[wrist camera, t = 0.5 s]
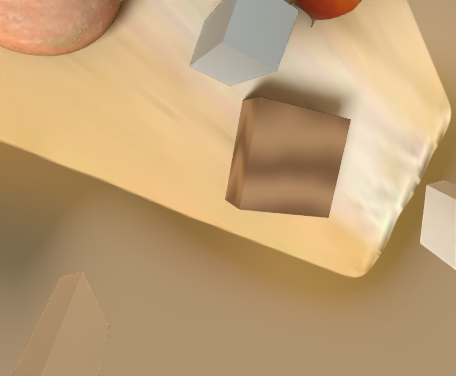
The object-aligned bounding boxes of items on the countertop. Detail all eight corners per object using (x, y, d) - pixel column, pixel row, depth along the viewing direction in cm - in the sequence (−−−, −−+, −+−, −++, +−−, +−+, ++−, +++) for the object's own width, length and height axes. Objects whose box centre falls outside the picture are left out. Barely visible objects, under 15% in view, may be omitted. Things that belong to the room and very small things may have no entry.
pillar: (189, 66, 33) (222, 41, 23) (204, 21, 33) (245, -25, 22) (229, 86, 35) (276, 70, 25) (244, 43, 34) (298, 10, 24)
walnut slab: (241, 100, 36) (260, 96, 31) (323, 120, 40) (350, 119, 36) (224, 199, 38) (239, 209, 33) (305, 207, 42) (328, 217, 38)
